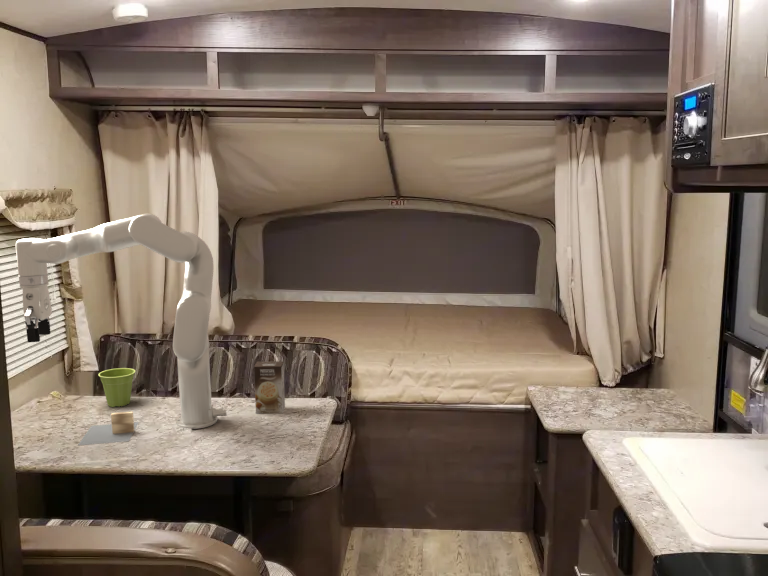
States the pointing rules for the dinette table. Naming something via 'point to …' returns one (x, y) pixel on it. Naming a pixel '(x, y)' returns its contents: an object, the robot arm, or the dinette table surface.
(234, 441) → the dinette table surface
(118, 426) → the tile
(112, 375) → the plant pot
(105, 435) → the mat
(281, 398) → the coffee box
